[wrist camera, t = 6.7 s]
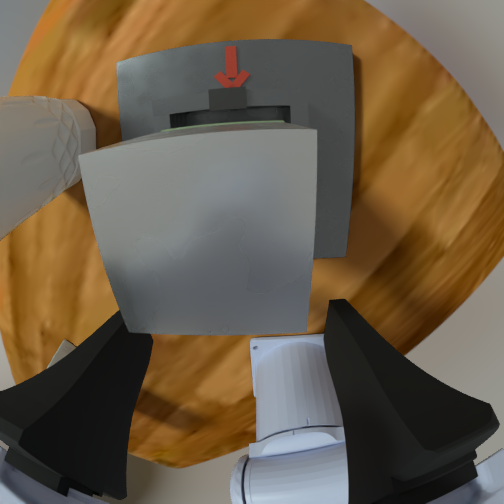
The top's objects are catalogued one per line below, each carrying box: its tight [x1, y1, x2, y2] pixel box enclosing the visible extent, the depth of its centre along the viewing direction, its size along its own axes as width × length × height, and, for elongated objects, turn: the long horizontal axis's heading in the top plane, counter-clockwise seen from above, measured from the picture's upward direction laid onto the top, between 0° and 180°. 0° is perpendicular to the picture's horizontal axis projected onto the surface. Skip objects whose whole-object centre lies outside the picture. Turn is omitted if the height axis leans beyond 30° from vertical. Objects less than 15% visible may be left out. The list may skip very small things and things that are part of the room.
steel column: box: [78, 120, 317, 335], centre depth 8 cm, size 4×4×7 cm
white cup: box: [0, 96, 96, 241], centre depth 11 cm, size 8×8×10 cm
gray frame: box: [117, 39, 355, 258], centre depth 14 cm, size 14×14×5 cm
